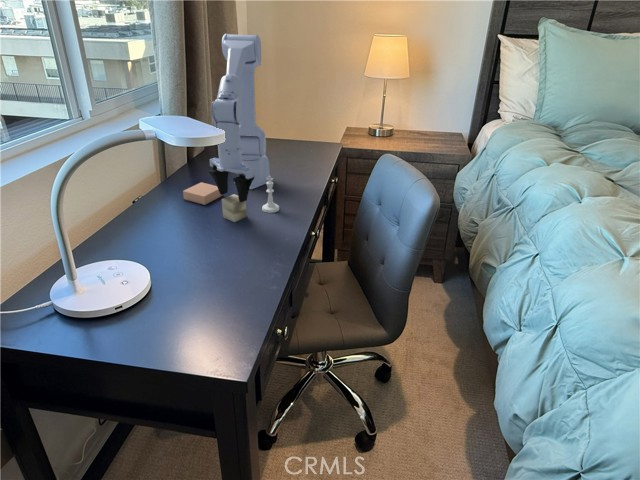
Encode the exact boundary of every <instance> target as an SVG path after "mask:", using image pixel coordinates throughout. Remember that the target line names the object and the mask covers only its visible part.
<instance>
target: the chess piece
mask: <svg viewBox="0 0 640 480" xmlns="http://www.w3.org/2000/svg"><path fill="white" fill-rule="evenodd" d="M267 180H269V182H267V183H266V184H265V185H266V186H267V189H266V191H265V192H266V193H268V195H267V202H266V204H265V203H264V204H263V205H262V206H261V207H262V208H261V210H262V212H264V213H267V214H273V213H277V212H279V211H280V206H279V205H278V204H277V203H275V202H274V198H273V193H274V192H275V190H274V189H273V187H274V182H273V180H274V178H273V177H271V175H270V176H269V178H267ZM271 180H272V181H271Z"/></svg>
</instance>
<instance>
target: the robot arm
mask: <svg viewBox="0 0 640 480" xmlns="http://www.w3.org/2000/svg"><path fill="white" fill-rule="evenodd" d="M221 50H222V54H223V57H224V60H226V62H227V63H226V72H225V75H223V76H222V77H221V79H220V82H219V87H218V92H217V96H216V99H215V100H212V102H211V108H210V110H211V111H210V114H211V119H212V120H211V121H212V123H213V128H214V127H216V128H219V129H222V130H224V131H225V138H226V140H225V142H224V143H222V144H219V145H218V144H217V151H218V157H213V158H209V167H211V168H210V169H209V170H208V173H209V174H210V175H211V177H212V178H213V180H214V182H215V186H217V187H218V190H219V193H220V194H221V195H225V194H228V192H229V191H228V190H229V188H228V186H229V184H228V183H229V182H228V180H229V172H230V173H233V174H236V175H237V176H236V177H233V179H232V181H233V183H234V184H235V187H236V191H237V195H238V198H239V202H244V201H246V202H247V201H248V200H247V199H248V196H249V191H250V190H254V189H256V188H259V187H261V186H264V185H266V183H267V182H269V180H267V178H269V176H271V174H270V173H271V172H270V162H269V158H268V156H267V155H266V154H267V139H266V133H265V130H264V129H262V128H261V127H260V126H259V125H257V123H256V119H257V117H256V93H255V91H256V90H255V89H256V88H255V84H256V83H255V71H256V68H257V67H260V66H261V65H262V64H261V62H262V42H261V38H260V37H259V34H232V33H231V34H229V33H224V34H223V36H222V39H221ZM271 182H273V180H271Z"/></svg>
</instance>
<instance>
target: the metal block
mask: <svg viewBox="0 0 640 480" xmlns="http://www.w3.org/2000/svg"><path fill="white" fill-rule="evenodd" d="M246 202H247V200H246V201H244V202H239V198H238V194H235V193H234V194H231V195H228V196H226V197H224V198H221V208H222V218H224V219H226V220H229V221H231V222H233V223H236V222H239V221H240V220H242V219H245V218H247V216H248V215H247V203H246Z"/></svg>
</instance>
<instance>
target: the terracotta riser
mask: <svg viewBox="0 0 640 480" xmlns="http://www.w3.org/2000/svg"><path fill="white" fill-rule="evenodd" d="M182 193H183V194H182V195H183V199H184V200H185V201H189V202H193V203H197V204H201V205H204V206H206V205H207V204H209V203H211V202H213V201H215V200H217V199H219V198H221V197H222V196H223V195H224V194H223V195H221V194H220V193H219V190H218V187H217V185H213V184H211V183H205V182H202V181H201V182H199V183H197V184H195V185H192V186H191V187H187V188H186V189H184V190H182Z"/></svg>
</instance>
